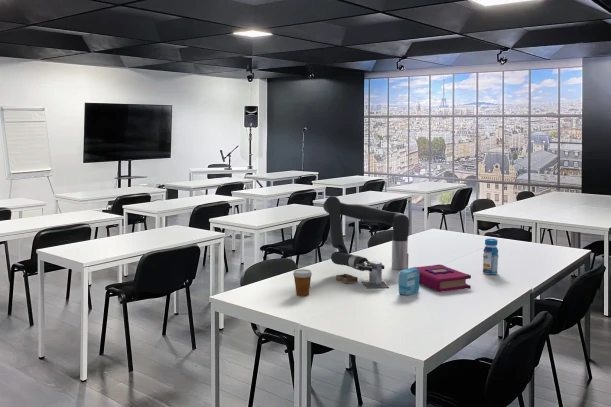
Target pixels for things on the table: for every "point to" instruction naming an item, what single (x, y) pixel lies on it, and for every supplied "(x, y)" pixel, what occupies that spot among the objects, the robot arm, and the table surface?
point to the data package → (408, 281)
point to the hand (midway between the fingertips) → (377, 268)
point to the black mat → (375, 286)
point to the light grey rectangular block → (375, 273)
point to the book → (442, 278)
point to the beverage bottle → (490, 257)
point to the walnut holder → (346, 278)
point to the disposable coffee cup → (302, 281)
